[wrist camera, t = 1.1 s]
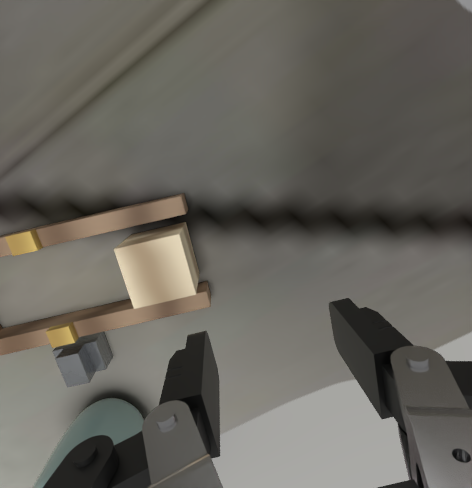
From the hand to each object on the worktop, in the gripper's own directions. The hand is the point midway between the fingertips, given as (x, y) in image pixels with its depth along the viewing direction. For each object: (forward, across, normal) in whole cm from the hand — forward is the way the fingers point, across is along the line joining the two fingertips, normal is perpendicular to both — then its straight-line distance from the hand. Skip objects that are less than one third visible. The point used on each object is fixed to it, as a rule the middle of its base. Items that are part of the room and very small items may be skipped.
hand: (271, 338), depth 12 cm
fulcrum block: (+17, +17, +8) cm, 26 cm away
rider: (+17, +7, 0) cm, 19 cm away
